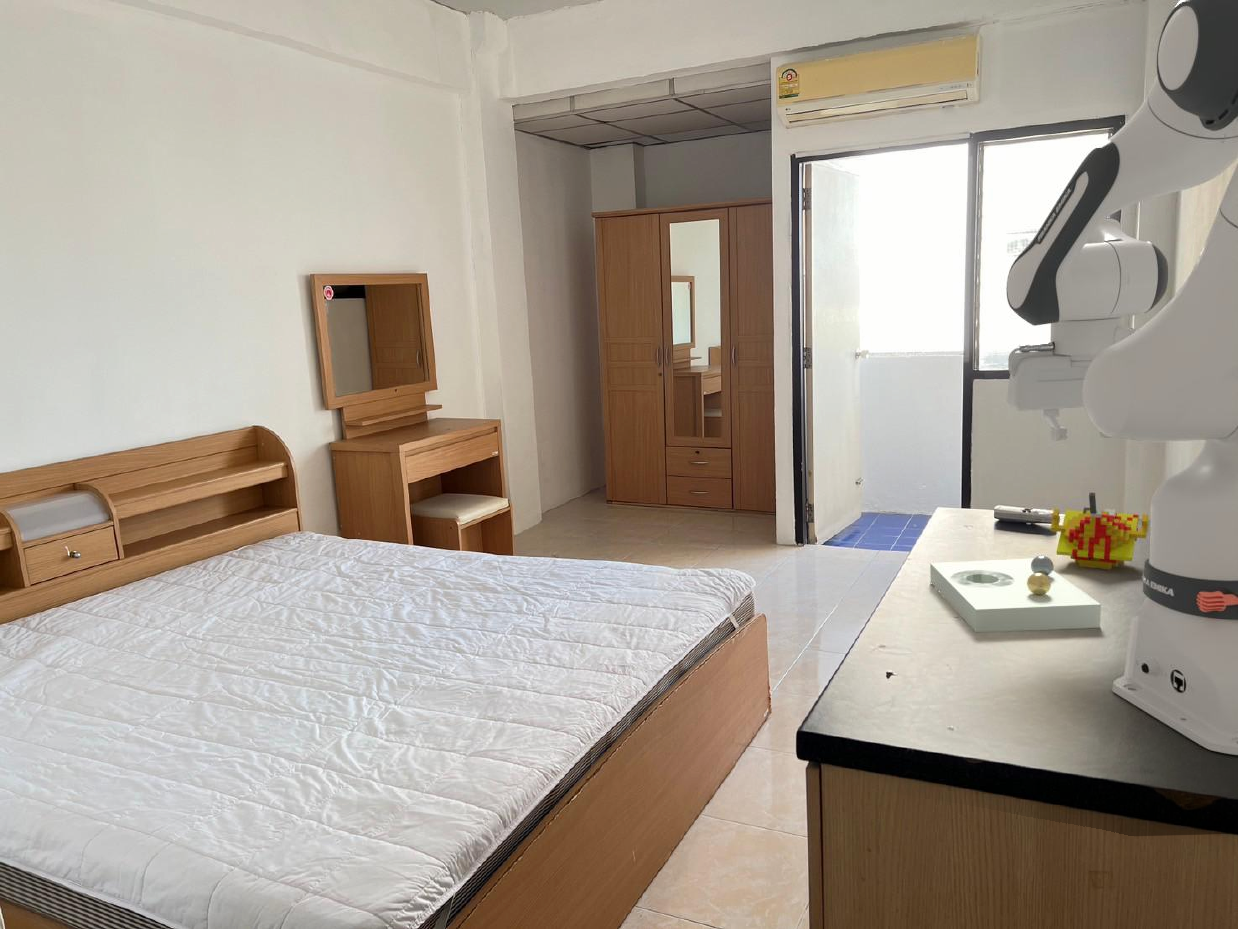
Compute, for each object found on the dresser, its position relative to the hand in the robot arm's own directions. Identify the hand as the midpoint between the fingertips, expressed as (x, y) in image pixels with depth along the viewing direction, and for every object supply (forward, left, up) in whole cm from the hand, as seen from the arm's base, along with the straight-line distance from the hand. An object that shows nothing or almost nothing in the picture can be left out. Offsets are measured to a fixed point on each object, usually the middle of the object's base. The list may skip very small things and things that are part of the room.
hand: (1083, 438), depth 128 cm
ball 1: (0, +5, -18) cm, 19 cm away
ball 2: (-8, +9, -18) cm, 22 cm away
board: (-2, +11, -23) cm, 26 cm away
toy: (+15, -9, -23) cm, 29 cm away
